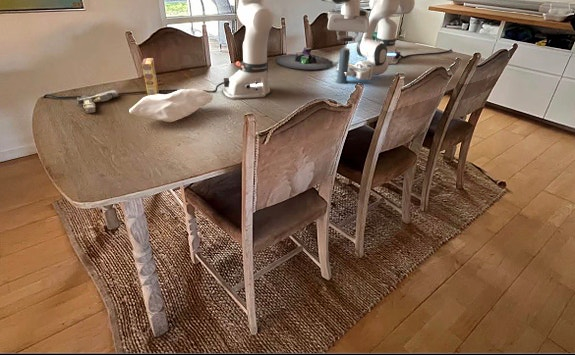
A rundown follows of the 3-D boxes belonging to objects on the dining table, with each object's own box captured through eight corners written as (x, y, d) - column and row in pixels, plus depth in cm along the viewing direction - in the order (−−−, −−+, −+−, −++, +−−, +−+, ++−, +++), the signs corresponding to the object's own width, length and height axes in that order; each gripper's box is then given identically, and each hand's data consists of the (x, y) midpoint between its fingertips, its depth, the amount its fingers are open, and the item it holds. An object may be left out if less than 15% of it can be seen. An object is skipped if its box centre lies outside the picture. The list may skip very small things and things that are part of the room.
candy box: (157, 97, 164) (152, 63, 155) (147, 98, 163) (141, 63, 155) (158, 91, 171) (153, 57, 163) (149, 91, 170) (143, 58, 162)
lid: (352, 41, 179) (353, 38, 178) (340, 41, 179) (341, 37, 178) (351, 39, 184) (352, 35, 183) (339, 38, 184) (340, 35, 183)
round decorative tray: (344, 65, 218) (345, 49, 214) (297, 72, 201) (297, 55, 197) (309, 55, 243) (309, 41, 239) (264, 61, 226) (264, 46, 221)
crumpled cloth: (117, 110, 146) (113, 90, 140) (195, 92, 166) (194, 73, 160) (143, 139, 134) (140, 118, 128) (223, 116, 154) (224, 96, 148)
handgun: (128, 97, 156) (111, 87, 164) (86, 107, 144) (70, 97, 152) (129, 103, 157) (113, 94, 165) (88, 114, 146) (72, 103, 154)
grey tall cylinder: (335, 80, 195) (339, 48, 186) (344, 80, 196) (348, 47, 187) (338, 83, 191) (342, 50, 182) (347, 83, 192) (351, 50, 183)
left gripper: (328, 10, 172) (325, 40, 180) (371, 13, 171) (366, 43, 179) (328, 8, 178) (325, 37, 185) (370, 11, 176) (365, 40, 184)
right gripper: (350, 58, 202) (330, 61, 196) (375, 68, 187) (354, 71, 181) (349, 70, 205) (329, 72, 199) (373, 80, 190) (352, 83, 184)
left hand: (346, 40), depth 182 cm, fingers closed on lid, 6 cm apart
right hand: (341, 72), depth 190 cm, fingers closed on grey tall cylinder, 5 cm apart
